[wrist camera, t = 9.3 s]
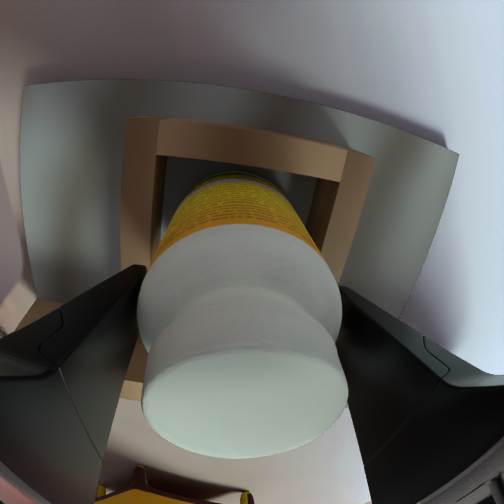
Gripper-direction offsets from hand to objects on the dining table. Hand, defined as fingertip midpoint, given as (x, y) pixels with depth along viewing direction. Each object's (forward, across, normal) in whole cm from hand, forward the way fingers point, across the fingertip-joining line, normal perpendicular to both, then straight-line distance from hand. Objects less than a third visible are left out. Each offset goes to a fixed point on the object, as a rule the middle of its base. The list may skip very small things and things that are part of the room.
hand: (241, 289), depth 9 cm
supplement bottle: (+5, 0, 0) cm, 5 cm away
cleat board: (+6, 0, +1) cm, 6 cm away
